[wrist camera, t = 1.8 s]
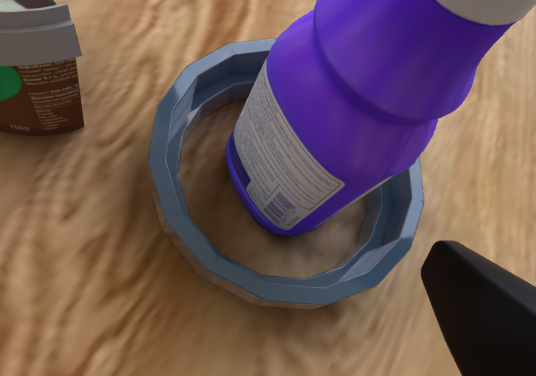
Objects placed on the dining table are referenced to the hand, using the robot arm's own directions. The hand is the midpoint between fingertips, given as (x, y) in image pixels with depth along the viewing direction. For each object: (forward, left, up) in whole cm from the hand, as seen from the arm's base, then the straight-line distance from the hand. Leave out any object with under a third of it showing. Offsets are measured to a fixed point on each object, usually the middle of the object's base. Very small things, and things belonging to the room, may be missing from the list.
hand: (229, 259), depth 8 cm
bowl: (+2, -9, -14) cm, 17 cm away
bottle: (+2, -9, -15) cm, 18 cm away
